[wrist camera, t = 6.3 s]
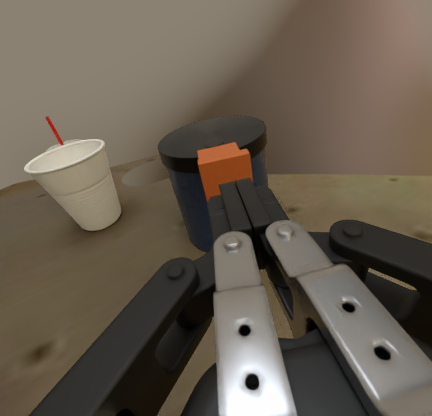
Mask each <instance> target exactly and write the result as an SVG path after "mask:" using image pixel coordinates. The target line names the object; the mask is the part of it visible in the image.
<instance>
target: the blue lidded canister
mask: <svg viewBox="0 0 432 416" xmlns="http://www.w3.org/2000/svg"><path fill="white" fill-rule="evenodd" d="M234 142H235V143H236V144H237V146H238V148H239V150H243V149H247V150H248V151H249V153H250V159H251V168H252V178H253V184H254V186H255V187H257V186H261V185H264V186H265V187H267V188H268V178H267V164H266V151H265V146H266V144H267V135H266V125H265V124H264V122H263V121H262V120H260V119H257V118H254V117H249V116H224V117H216V118H211V119H206V120H202V121H198V122H194V123H191V124H188V125H186V126H183V127H181V128H178V129H176V130H174V131H173V132H171V133H169V134H168V135H166V136H165V137H164V138H163V139H162V140H161V141H160V142H159V144H158V150H159V153H160V156H161V159H162V162H163V164H164V165H165V166H166V168H167V171H168V174H169V177H170V180H171V183H172V186H173V189H174V192H175V195H176V198H177V202H178V205H179V208H180V211H181V214H182V217H183V220H184V223H185V226H186V229H187V232H188V235H189V238H190V240H191V242H192V243H193V244H194V245H195V246H196V247H197V248H199V249H201V250H202V251H205V252H209V250H210V249H211V247H212V245H213V236H212V230H211V225H210V219H209V213H208V207H207V199H206V195H205V191H204V187H203V183H202V179H201V175H200V171H199V167H198V162H197V160H198V153H197V151H198V150H203V149H207V148H212V147H216V146H220V145H225V144H229V143H234Z"/></svg>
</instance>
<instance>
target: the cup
mask: <svg viewBox="0 0 432 416" xmlns="http://www.w3.org/2000/svg"><path fill="white" fill-rule="evenodd" d="M104 145H105V143H104V141H102V140H99V139H88V140H82V141H77V142H73V143H69V144H66V145H63V146H60V147H57V148H55V149H52V150H50V151H47V152H45V153H43V154H41V155H40V156H38V157H36V158H34V159H33V160H31V161H30V162H29V163H28V164H27V165H26V166H25V169H24V170H25V172H26V173H28V174H31V175H32V176H33V178H35V180H36V181H37V182H38V183H39V184H40V185H41V186H42V187H43V188H44V189H45V190H46V191H47V192H48V193H49V194H50V195H51V196H52V197H53V198H54V199H55V200H56V201H57V202H58V203H59V204H60V205H61V206H62V207H63V208H64V210H66V211H67V213H69V215H71V217H72V218H73V219H74V220H75V221H76V222H77V223H78V224H79V225H80V226H81V227H82V228H83V229H84V230H89V231H97V230H101V229H104V228H106V227H108V226H110V225H111V224H113V223H114V222H115V221H116V220H117V219H118V218H119V216H120V214H121V206H120V203H119V199H118V196H117V192H116V189H115V186H114V181H113V178H112V175H111V171H110V167H109V163H108V160H107V156H106V153H105V149H104Z"/></svg>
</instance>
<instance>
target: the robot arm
mask: <svg viewBox="0 0 432 416" xmlns="http://www.w3.org/2000/svg"><path fill="white" fill-rule="evenodd" d="M219 189H220V194H221V195H217V196H212V197H210V199H209V201H208V203H207V207H208V213H209V219H210V225H211V230H212V236H213V245H212V247H211V249H210V250H209V252H208V253H207V254H205V255H204V256H203V257H201V258H199V259H197V260H195V261H192V260H190V259H188V258H175V259H172V260H170V261H168V262H166V263H165V264H164V265H163V266H162V267H161V268H160V269H159V270H158V271H157V272H156V273H155V274H154V275H153V277H152V278H151V279H150V280H149V281H148V282H147V283H146V284H145V286H144V287H143V288H142V289H141V290H140V291H139V292H138V293H137V295H136V296H135V297H134V298H133V299H132V300H131V301H130V302H129V303H128V305H127V306H126V307H125V308H124V309H123V310H122V311H121V312H120V314H119V315H118V316H117V317H116V318H115V319H114V320H113V321H112V323H111V324H110V325H109V326H108V327H107V328H106V329H105V330H104V332H103V333H102V334H101V335H100V336H99V337H98V338H97V339H96V341H95V342H94V343H93V344H92V345H91V346H90V347H89V348H88V350H87V351H86V352H85V353H84V354H83V355H82V356H81V357H80V359H79V360H78V361H77V362H76V363H75V364H74V365H73V366H72V368H71V369H70V370H69V371H68V372H67V373H66V374H65V375H64V376H63V378H62V379H61V380H60V381H59V382H58V383H57V384H56V385H55V387H54V388H53V389H52V390H51V391H50V392H49V393H48V394H47V396H46V397H45V398H44V399H43V400H42V401H41V402H40V403H39V405H38V406H37V407H36V408H35V409H34V410H33V411H32V412H31V414H30V415H29V416H156V415H157V414H158V412H159V410H160V409H161V407H162V405H163V404H164V402H165V400H166V399H167V397H168V395H169V393H170V392H171V390H172V388H173V387H174V385H175V383H176V382H177V380H178V378H179V377H180V375H181V373H182V371H183V370H184V368H185V366H186V365H187V363H188V361H189V360H190V358H191V356H192V355H193V353H194V351H195V349H196V348H197V346H198V344H199V343H200V341H201V339H202V338H203V336H204V334H205V333H206V331H207V329H208V327H209V326H210V324H211V321H212V317H213V316H214V321H215V342H216V363H214V364H213V365H212V366H211V367H210V368H209V369H208V370H207V371H206V372H205V373H204V375H203V376H202V377H201V378H200V380H199V381H198V383H197V384H196V386H195V388H194V390H193V391H192V393H191V395H190V397H189V399H188V401H187V403H186V405H185V407H184V409H183V411H182V413H181V415H180V416H432V244H431V243H427V242H424V241H421V240H418V239H415V238H411V237H408V236H405V235H402V234H399V233H396V232H392V231H389V230H386V229H383V228H380V227H376V226H373V225H370V224H367V223H364V222H360V221H356V220H341V221H338V222H336V223H334V224H333V225H332V226H331V228H330V232H307V231H306V230H305V229H304V227H303V226H302V225H300V224H299V223H297V222H294V221H290V220H289V218H288V217H287V215H286V214H285V212H284V210H283V209H282V207H281V205H280V204H279V203H278V201H277V199H276V197H275V196H274V194H273V192H272V191H271V190H270V189H269V188H267V187H265V186H264V185H261V186H257V187H255V186H254V184H253V182H252V180H251V179H250V178H245V179H241V180H236V181H235V183H234V181H232V182H227V183H223V184H219ZM258 268H259V269H258ZM369 268H371V269H374V270H376V271H378V272H381V273H383V274H386V275H388V276H390V277H393V278H395V279H398V280H400V281H402V282H405V283H407V284H409V285H411V286H413V287H414V288H416V289H417V290H411V289H408V288H405V287H403V286H400V285H398V284H396V283H393V282H391V281H389V280H386V279H384V278H382V277H379V276H377V275H375V274H372V273H370V272H368V269H369ZM261 269H266V272H267V274H268V277H269V279H270V284H271V287H272V289H273V291H274V293H275V295H276V297H277V299H278V301H279V303H280V306H281V308H282V310H283V312H284V314H285V316H286V318H287V320H288V322H289V324H290V327H291V330H292V333H293V337H294V339H288V338H277V334H276V330H275V326H274V322H273V318H272V314H271V310H270V306H269V302H268V298H267V294H266V290H265V287H264V284H262V281H261V277H260V273H259V270H261Z"/></svg>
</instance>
